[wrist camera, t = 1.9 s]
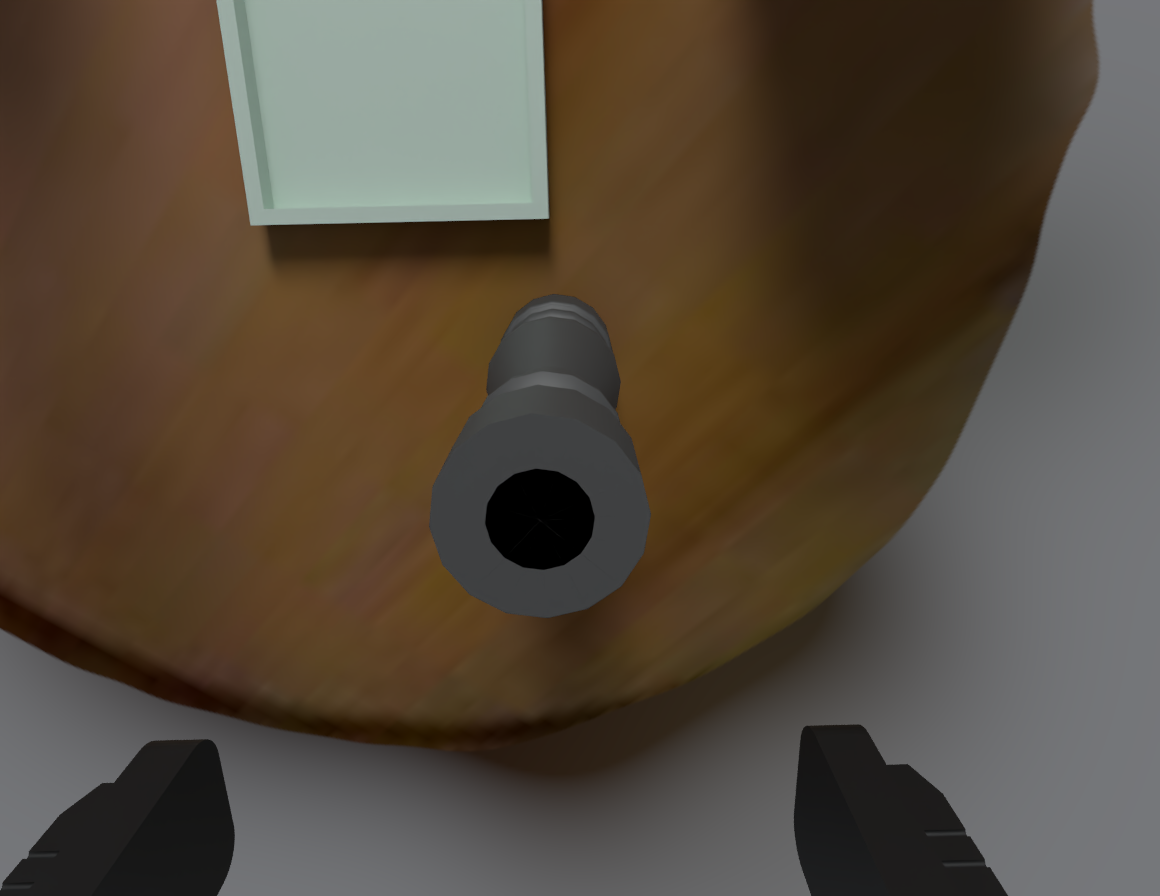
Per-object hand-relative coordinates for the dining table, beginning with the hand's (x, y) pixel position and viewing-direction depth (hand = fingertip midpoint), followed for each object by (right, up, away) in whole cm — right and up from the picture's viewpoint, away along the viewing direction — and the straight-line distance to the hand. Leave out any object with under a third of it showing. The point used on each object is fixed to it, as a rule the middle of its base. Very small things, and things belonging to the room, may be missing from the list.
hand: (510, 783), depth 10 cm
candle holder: (0, +11, +33) cm, 34 cm away
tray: (-9, +25, +28) cm, 38 cm away
